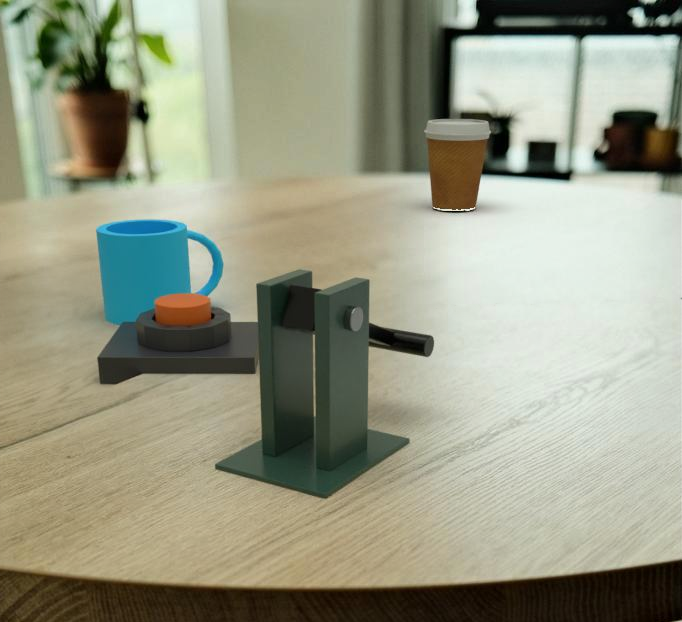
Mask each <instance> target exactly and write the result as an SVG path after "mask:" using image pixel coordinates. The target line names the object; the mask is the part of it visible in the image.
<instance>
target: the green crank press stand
mask: <svg viewBox="0 0 682 622" xmlns="http://www.w3.org/2000/svg"><path fill="white" fill-rule="evenodd" d="M370 282H371V281H370V278H369V279H368V278H362V277H353V278H350V279H347V280H345V281H342V282H340V283H336V284H334V285H331V286H329V287H326V288H324V289H322V290H321V291H318V292H315V293H314V306H315V335H313V334H307V333H304V332H301V331H298V330H294V329H291V328H288V327H285V326H282V321H283V316H284V312H285V307H286V302H287V297H288V292H289V287H290V285H297V286H304V287H310V288H313V271H312V270H308V269H307V270H306V269H300V268H299V269H296V270H292V271H289V272H287V273H284V274H281V275H278V276H276V277H273V278H269V279H267V280H263V281H260V282H257V283H256V287H255V288H256V311H257V312H256V315H257V322H258V344H259V360H258V364H259V365H258V368H259V369H258V371H259V372H258V373H259V393H260V394H259V395H260V396H259V397H260V398H259V399H260V400H259V401H260V425H261V427H260V428H261V429H260V430H261V439H259V440H257V441H256V442H254V443H252V444H250V445H248V446H247V447H244V448H243V449H241V450H239V451H237V452H235V453H233V454H231V455H229V456H227V457H226V458H224V459H222V460H220V461H218V462H217V463H215V464H214V469H215V470H217V471H220V472H221V471H222V472H225V473H229V474H233V475H236V476H240V477H243V478H247V479H250V480H251V479H252V480H254V481H258V482H262V483H265V484H268V485H269V484H270V485H272V486H276V487H280V488H284V489H287V490H290V491H291V490H292V491H295V492H299V493H302V494H306V495H309V496H313V497H317V498H320V499H328V498H329V497H331V496H333V495H334V494H335V493H337V492H338V491H340V490H341V489H343V488H344V487H346V486H347V485H349V484H351V482H354V481H355V480H356V479H358V478H359V477H361V476H362V475H363V474H365V473H366V472H368V471H370V470H371V469H373V468H375V466H377V465H379V464H380V463H382V462H384V461H385V460H387V459H388V458H390V457H391V456H392V455H394V454H396V453H397V452H399V451H401V449H403V448H405V447H406V446H408V445H409V444H410V437H405V436H401V435H396V434H391V433H388V432H383V431H379V430H375V429H370V428H368V427H369V426H368V425H369V423H368V422H369V421H368V420H369V355H370V353H369V350H370V349H369V348H370V347H369V323H370V287H371V286H370ZM314 384H315V385H314ZM314 386H315V387H314ZM314 391H315V393H314ZM314 398H315V399H314Z"/></svg>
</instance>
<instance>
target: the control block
mask: <svg viewBox="0 0 682 622" xmlns="http://www.w3.org/2000/svg"><path fill="white" fill-rule="evenodd" d="M231 319H232V317H231V313H230V312H228V311H227V310H226V309H223V308H222V307H217V306H211V320H210V321H207V322H205V323H200V324H193V325H167V324H161V323H156V317H155V308H154V309H151V310H148V311H145V312H143V313H140V314H139V316H138V317H137V319H136V322H122V324H121V325H118V327H117V329H116V330H115V332H114V333H113V335H111V337H110V339H109V340H108V342H107V344H105V346H104V347H103V349H102V350H101V351H100V353H99V354H98V355H97V358H96V359H97V369H98V377H99V384H100V385H118V384H121V383H124V382H126V381H128V380H131V379H133V378H136V377H139V376H141V375H158V374H159V375H255V374H256V372H257V368H258V366H259V365H258V364H259V344H258V321H232V320H231Z"/></svg>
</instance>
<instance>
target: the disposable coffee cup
mask: <svg viewBox="0 0 682 622" xmlns="http://www.w3.org/2000/svg"><path fill="white" fill-rule="evenodd" d="M423 133H424V134H425V138H426V142H427V155H428V167H429V169H428V170H429V180H430V192H431V194H430V195H431V206H433V207H435V208H440V209H452V210H456V209H458V210H461V209H470V208H474V207H477V201H478V197H479V190H480V184H481V179H482V174H483V168H484V162H485V156H486V149H487V145H488V139H490V135H491V134H492V130H490V123H489V121H487V120H484V119H483V120H482V119H473V118H440V119H430V120H428V121H427V123H426V127H425V129H424V130H423Z"/></svg>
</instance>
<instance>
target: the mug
mask: <svg viewBox="0 0 682 622" xmlns="http://www.w3.org/2000/svg"><path fill="white" fill-rule="evenodd" d="M95 233H96V242H97V253H98V262H99V272H100V281H101V291H102V298H103V310H104V318H105V320H106V321H107V322H109V323H111V324H113V325H117V326H120V325H121V324H122V322H136V319H137V317H138V316H139V314H140V313H143V312H145V311H148V310H151V309H154V308H155V304H154V301H155V300H156V299H157V298H159V297H162V296H165V295H170V294H180V293H191V294H192V286H191V270H190V269H191V267H190V255H189V254H190V253H189V240H191V241H195V242H197V243H199V244H201V245H202V246H203V247H205V248H206V250H207V251H208V253H209V254H210V256H211V260H212V271H211V274H210V277H209V279H208V280H207V282H206V283H205V284H204V285H203V286H202V288H201V289H199V290H198V291H196V292H195V293H194V294H200V295H204V296H207V297H209V296H210V295H211V294H212V292H213V291H214V290H215V289H217V287H218V285H219V284H220V282H221V279H222V277H223V273H224V272H223V271H224V260H223V256H222V252H221V251H220V249H219V248H218V246H217V245H216V243H215V242H214V241H213V240H211V239H210V238H208V237H207V236H206V235H204V234H202V233H200V232H197V231H193V230H188V225H187V224H185V223H184V222H181V221H177V220H171V219H170V220H169V219H153V218H151V219H150V218H149V219H147V218H146V219H142V218H141V219H128V220H127V219H126V220H119V221H112V222H108V223H103V224H101V225H98V226H96V229H95Z"/></svg>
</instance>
